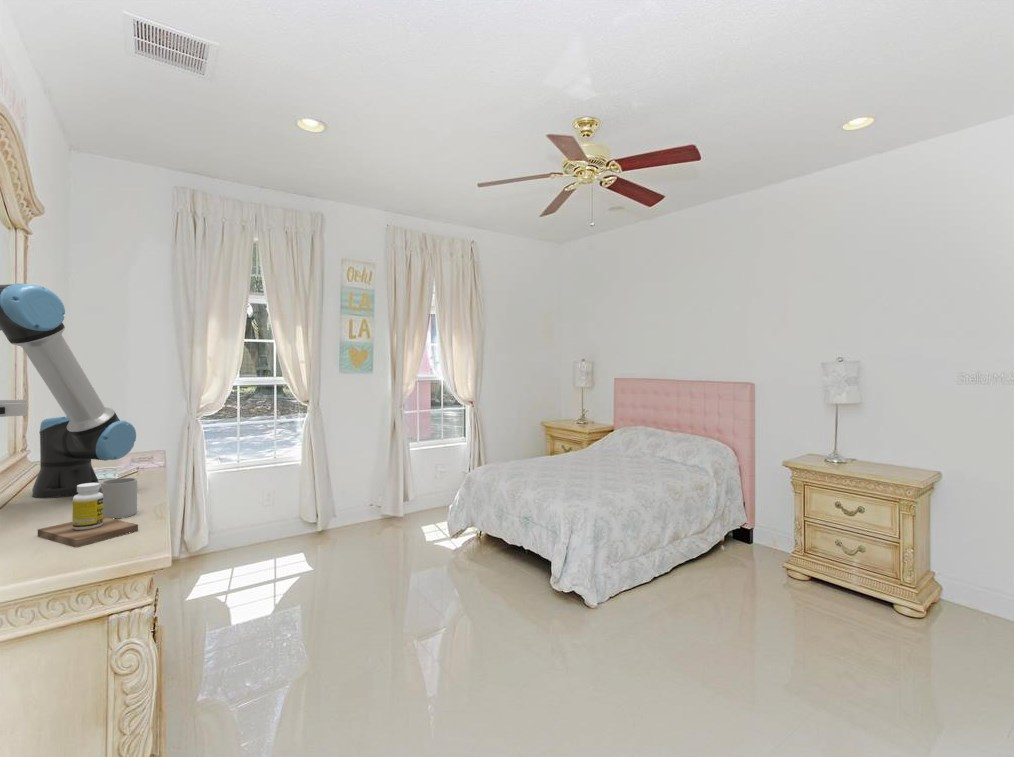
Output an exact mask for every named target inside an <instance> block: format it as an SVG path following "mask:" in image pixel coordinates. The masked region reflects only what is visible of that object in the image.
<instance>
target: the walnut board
mask: <svg viewBox="0 0 1014 757" xmlns="http://www.w3.org/2000/svg"><path fill="white" fill-rule="evenodd" d="M134 531H136V532H138V531H139V524H137V523H133V522H129V521H125V520H124V521H123V520H119V519H112V518H108V517H103V524H102V525H101V526H99V527H97V528H92V529H86V530H75V529H73V528H72V521H69V522H64V523H60V524H56V525H51V526H47V527H43V528H38V529H37V537H40V538H43V539H47V540H50V541H54V542H57V543H61V544H64V545H67V546H70V547H71V546H72V547H74V548H78V547H82V546H86V545H87V546H88V545H90V543H91V544H95V543H98V542H101V540H102V541H105V539H106V540H109V539H108V538H110V539H113V538H116V537H115V536H117V537H120V536H119V535H121V536H123V535H122V534H125V535H127V534H126V533H128V534H130V533H129V532H132V533H135V532H134ZM112 537H113V538H112Z"/></svg>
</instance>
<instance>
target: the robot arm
mask: <svg viewBox="0 0 1014 757" xmlns="http://www.w3.org/2000/svg"><path fill="white" fill-rule="evenodd" d="M65 314H66V308H65V305H64V303H63V301H62V299H61V298H60V297H59V296H58V295H57V294H56V293H55V292H53V291H52V290H51V289H49V288H47V287H44V286H41V285H37V284H28V283H16V284H14V283H13V284H0V331H2V333H3V335H4V336H5V338H7V341H8V342H9V343H10V344H11V345H14V346H18V347H21V348H22V349H23V351H24V353H25V354H26V356H27V357H28V359H29V360H30V362H31V363H32V365H33V366H34V368H35V369H36V371H37V372H38V374H39V376H40V377H41V379H42V381H43V382H44V383H45V385H46V387H47V388H48V390H49V391H50V393H51V394H52V396H53V398H54V399H55V400H56V402H57V403H58V405H59V407H60V408H61V410H62V411H63V413H64V414H65V416H58V417H57V416H56V417H49V418H45V419H44V420H42V421H41V422H40V428H39V443H40V444H39V446H40V448H39V450H40V451H39V452H40V457H39V458H40V464H39V466H40V468H39V471H38V474H37V477H36V479H35V481H34V484H33V485H32V489H31V490H32V494H31V495H32V497H34V498H39V499H40V498H41V499H42V498H62V497H71V496H75V495H77V494H78V492H77V485H80V484H85V483H99V479H98V477H97V475H96V472H95V470H94V468H93V464H92V460H98V461H114V460H119V459H122V458H124V457H125V456H127V455H128V454H129V453H130V452H131V451H132V449H133V448H134V446H135V442H136V441H137V431H136V428H135V426H134V425H133V424H132V423H130V422H128V421H126V420H120V418H119V417H118V415H117V413H116V411H115V410H114V409H113V408H112V407H106V406H105V405H104V403H103V401H102V399H100V397H99V395H98V393H97V392H96V390H95V388H94V387H93V384H92V383H91V382H90V380H89V378H88V377H87V375H86V374H85V371H84V370H83V367H81V365H80V363H79V361H78V360H77V358H76V357H75V355H74V353H73V351H72V349H70V347H69V345H68V343H67V341H66V340H65V338H64V336H63V333H64V331H65V328H66V327H65V325H64V323H63V322H64V320H65V316H64V315H65ZM21 416H22V417H24V416H28V398H25V399H24V398H22V399H0V418H4V417H21ZM99 484H100V483H99Z"/></svg>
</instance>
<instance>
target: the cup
mask: <svg viewBox="0 0 1014 757" xmlns="http://www.w3.org/2000/svg"><path fill="white" fill-rule="evenodd" d="M101 493H102V494H103V517H108V518H112V519H113V518H119V519H123V518H122V517H125V518H128V516H129V517H132V516H135V515H136V514H137V512H138V479H137V478H134V477H122V478H113V479H107V480H103V481H101ZM134 514H135V515H134ZM131 515H132V516H131Z"/></svg>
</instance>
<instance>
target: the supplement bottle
mask: <svg viewBox="0 0 1014 757" xmlns="http://www.w3.org/2000/svg"><path fill="white" fill-rule="evenodd" d="M77 492H78V494H77V495H73V498H72V517H71V518H72V519H71V520H72V521H71V522H72V528H73V529H75V530H86V529H92V528H97V527H99V526H101V525H102V524H103V494H102V492H100V483H85V484H80V485H77Z"/></svg>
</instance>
